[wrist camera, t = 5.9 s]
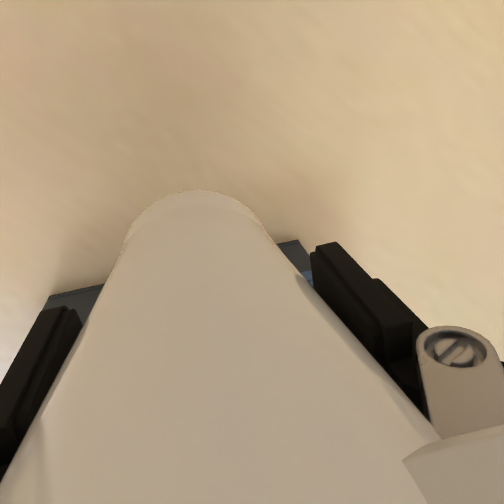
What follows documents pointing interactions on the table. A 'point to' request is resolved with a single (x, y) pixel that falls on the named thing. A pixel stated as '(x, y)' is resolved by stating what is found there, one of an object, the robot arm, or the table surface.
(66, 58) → the table surface
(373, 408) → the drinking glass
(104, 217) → the table surface
